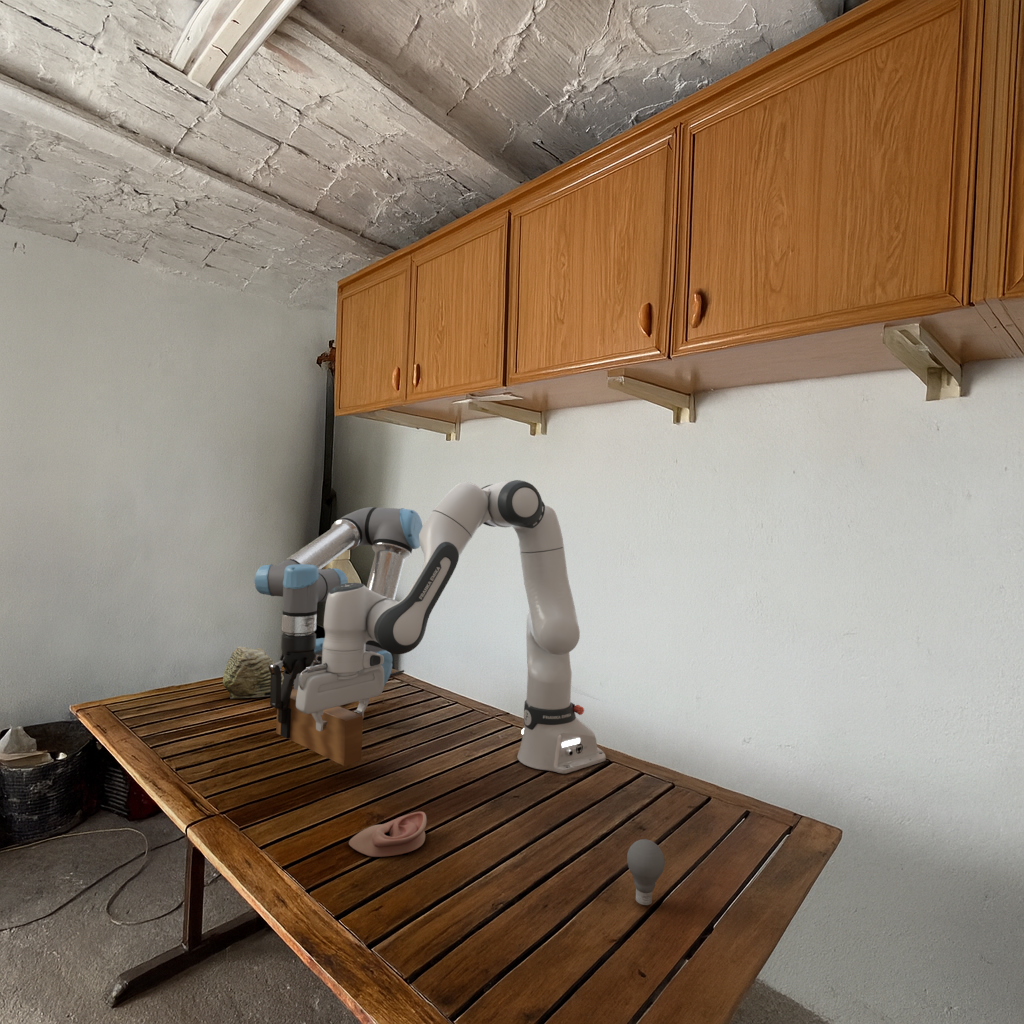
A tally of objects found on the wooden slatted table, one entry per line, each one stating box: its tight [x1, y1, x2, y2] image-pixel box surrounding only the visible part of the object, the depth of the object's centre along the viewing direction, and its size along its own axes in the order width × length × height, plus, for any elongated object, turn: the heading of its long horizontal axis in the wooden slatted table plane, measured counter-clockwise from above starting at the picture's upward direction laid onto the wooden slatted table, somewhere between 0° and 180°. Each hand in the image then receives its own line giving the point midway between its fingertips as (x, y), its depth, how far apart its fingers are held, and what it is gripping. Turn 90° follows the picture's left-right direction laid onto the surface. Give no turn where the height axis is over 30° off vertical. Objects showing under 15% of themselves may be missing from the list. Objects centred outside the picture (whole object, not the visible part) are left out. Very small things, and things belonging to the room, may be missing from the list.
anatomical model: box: [348, 811, 428, 858], centre depth 117 cm, size 13×4×12 cm
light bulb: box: [626, 838, 666, 906], centre depth 102 cm, size 6×6×10 cm
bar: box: [275, 688, 364, 767], centre depth 140 cm, size 26×4×10 cm, turn 51°
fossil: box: [222, 646, 284, 699], centre depth 198 cm, size 9×18×15 cm, turn 132°
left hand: (295, 733), depth 145 cm, fingers closed on bar, 4 cm apart
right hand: (340, 724), depth 135 cm, fingers open, 8 cm apart
